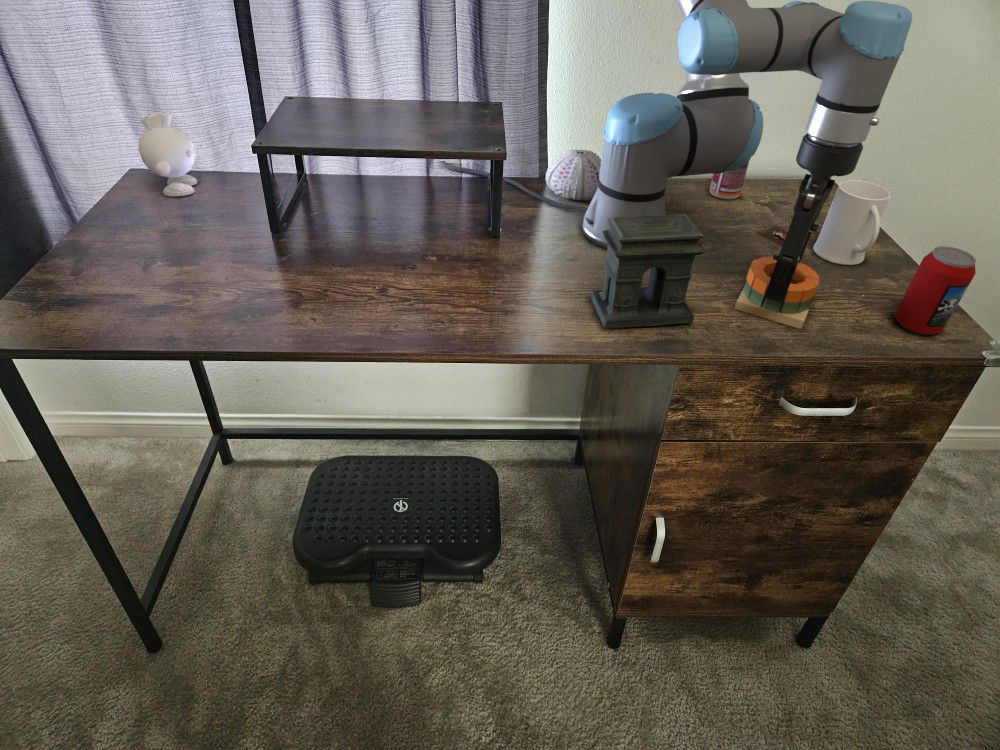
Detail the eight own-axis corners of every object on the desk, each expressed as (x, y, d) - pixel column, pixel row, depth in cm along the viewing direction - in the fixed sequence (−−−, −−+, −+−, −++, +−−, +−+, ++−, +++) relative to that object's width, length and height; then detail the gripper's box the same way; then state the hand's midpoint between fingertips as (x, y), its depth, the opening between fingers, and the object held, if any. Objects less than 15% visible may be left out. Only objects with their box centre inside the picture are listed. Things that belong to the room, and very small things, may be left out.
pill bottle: (745, 194, 134) (760, 141, 127) (729, 203, 130) (744, 149, 123) (718, 185, 137) (732, 132, 130) (702, 193, 133) (716, 139, 126)
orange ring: (739, 289, 98) (743, 277, 97) (755, 261, 105) (759, 250, 104) (808, 309, 94) (813, 298, 93) (819, 279, 101) (824, 268, 100)
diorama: (782, 243, 118) (785, 232, 116) (765, 234, 120) (769, 224, 119) (792, 239, 119) (796, 228, 118) (776, 231, 121) (780, 220, 120)
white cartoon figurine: (200, 206, 121) (178, 126, 112) (145, 209, 119) (118, 128, 110) (209, 174, 132) (190, 98, 123) (159, 176, 131) (135, 100, 121)
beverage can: (939, 343, 95) (981, 272, 87) (889, 328, 98) (925, 258, 90) (942, 322, 100) (982, 252, 92) (895, 307, 102) (930, 239, 94)
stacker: (734, 309, 100) (749, 260, 95) (749, 280, 107) (765, 234, 102) (801, 329, 97) (820, 280, 91) (812, 298, 103) (831, 251, 98)
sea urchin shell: (609, 180, 137) (614, 142, 132) (609, 207, 127) (616, 168, 121) (546, 175, 138) (549, 137, 133) (542, 202, 128) (545, 162, 122)
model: (671, 293, 103) (692, 205, 94) (693, 326, 96) (718, 234, 87) (588, 298, 101) (600, 209, 92) (604, 332, 94) (620, 239, 85)
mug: (879, 276, 110) (910, 210, 102) (829, 274, 110) (856, 208, 102) (852, 242, 119) (879, 180, 111) (806, 240, 119) (829, 177, 111)
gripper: (853, 172, 76) (792, 326, 91) (874, 120, 91) (819, 259, 106) (787, 158, 79) (738, 310, 93) (819, 109, 94) (772, 246, 108)
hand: (781, 283), depth 99 cm, fingers closed on orange ring, 10 cm apart
